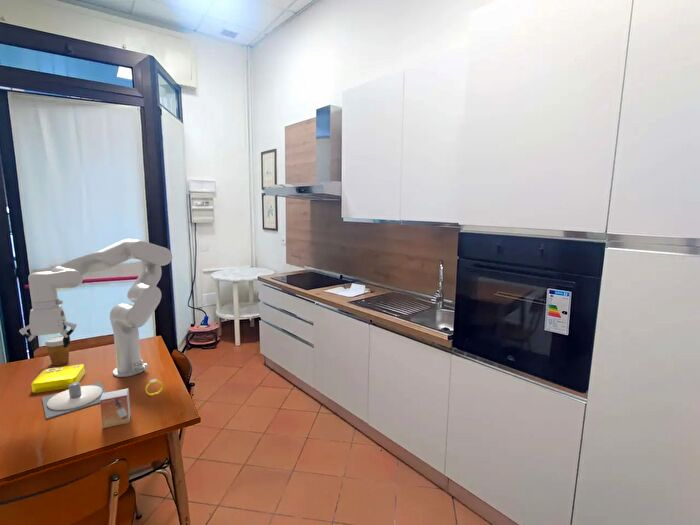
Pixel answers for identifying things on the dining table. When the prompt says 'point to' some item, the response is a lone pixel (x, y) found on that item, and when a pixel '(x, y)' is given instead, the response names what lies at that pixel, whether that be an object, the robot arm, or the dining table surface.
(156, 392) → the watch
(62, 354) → the disposable coffee cup
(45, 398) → the mat
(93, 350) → the dining table surface
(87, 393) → the lid
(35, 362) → the dining table surface
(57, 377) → the element tile
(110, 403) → the small box
